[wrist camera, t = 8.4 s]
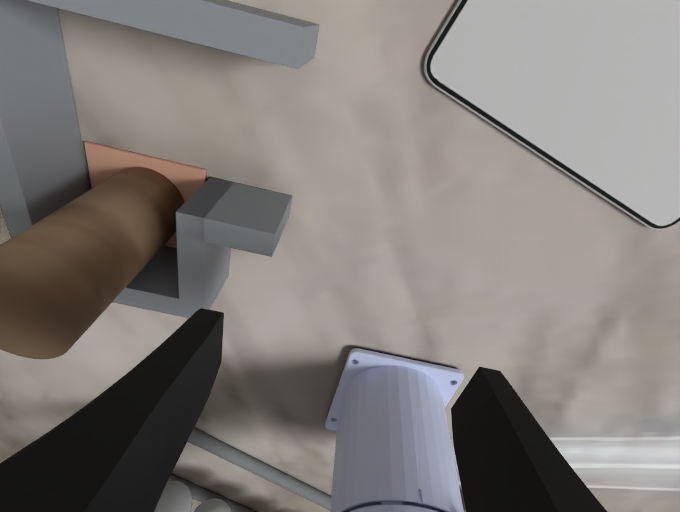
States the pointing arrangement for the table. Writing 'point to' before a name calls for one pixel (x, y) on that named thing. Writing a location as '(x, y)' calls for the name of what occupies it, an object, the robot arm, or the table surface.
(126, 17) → the channel
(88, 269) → the peg
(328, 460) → the table surface
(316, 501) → the newton's cradle
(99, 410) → the robot arm
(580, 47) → the smartphone
